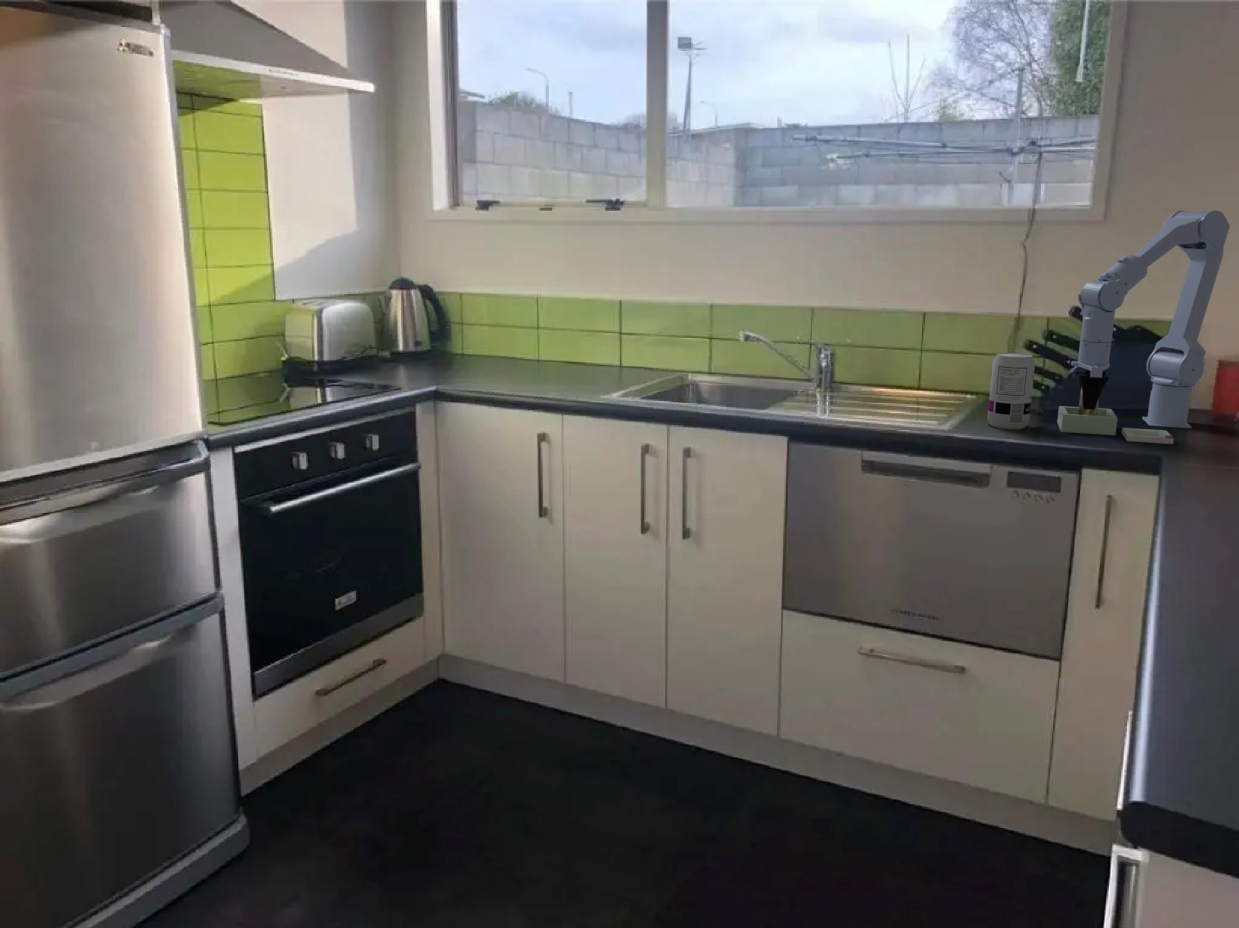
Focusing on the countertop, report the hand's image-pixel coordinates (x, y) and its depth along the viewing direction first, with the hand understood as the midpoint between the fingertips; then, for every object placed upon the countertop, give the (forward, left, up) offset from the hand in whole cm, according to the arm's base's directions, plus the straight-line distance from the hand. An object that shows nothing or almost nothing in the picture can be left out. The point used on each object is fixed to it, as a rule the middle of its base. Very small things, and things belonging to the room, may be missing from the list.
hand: (1087, 407), depth 206 cm
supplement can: (0, -15, -5) cm, 16 cm away
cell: (0, 0, -2) cm, 2 cm away
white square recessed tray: (+6, +10, -5) cm, 13 cm away
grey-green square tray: (0, 0, -5) cm, 5 cm away
